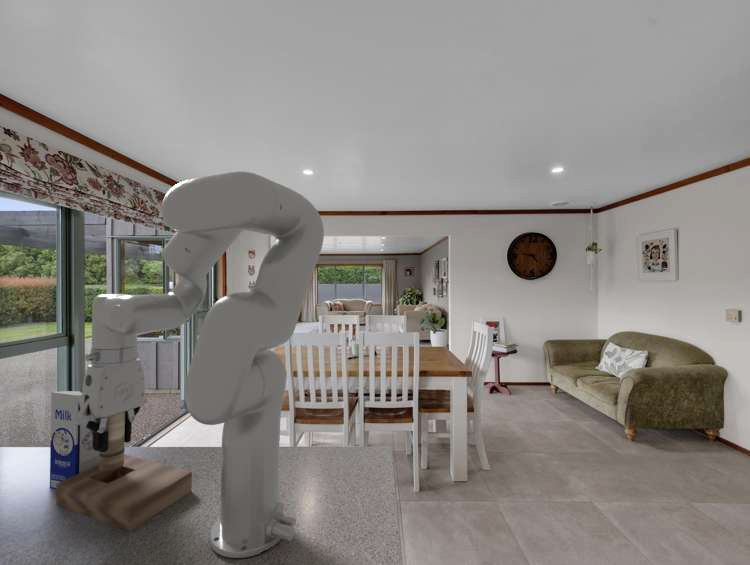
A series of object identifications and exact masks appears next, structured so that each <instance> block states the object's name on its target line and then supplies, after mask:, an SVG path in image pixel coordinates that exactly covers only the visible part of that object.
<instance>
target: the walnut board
mask: <svg viewBox="0 0 750 565" xmlns="http://www.w3.org/2000/svg"><path fill="white" fill-rule="evenodd" d="M192 476H193V472H192V471H189V470H186V469H181V468H178V467H174V466H171V465H166V464H162V463H159V462H155V461H152V460H148V459H144V458H139V457H136V456H132V455H129V454H125V453H124V464H123V466H121V467H120V468H117V469H115V470H110V471H101V470H100V465H98V466H96V467H93V468H91V469H89V470H86V471H84V472H82V473H80V474H77V475H75V476H73V477H71V478H68V479H66V480H64V481H62V482H59V483H57V484H56V489H55V505H56V506H59V507H61V508H64V509H67V510H68V511H69V510H70V511H73V512H75V513H77V514H81V515H83V516H86V517H88V518H91V519H94V520H97V521H99V522H100V521H101V522H102V523H105V524H108V525H111V526H114V527H116V528H119V529H121V530H124V531H128V532H131V531H133V530H135V529H136V528H138V527H140V526H141V525H143V523H144V524H145V522H147V521H149V520H150V519H152V518H153V517H155V516H156V515H157V514H159V513H161V512H162V511H165V509H167V508H168V507H170V506H171V505H173V504H174V503H176V502H177V501H179V500H181V499H182V498H184V497H185V496H186V495H188V494H190V493H192V487H193V486H192V484H193V482H192V479H193V478H192Z"/></svg>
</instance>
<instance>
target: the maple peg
mask: <svg viewBox="0 0 750 565" xmlns="http://www.w3.org/2000/svg"><path fill="white" fill-rule="evenodd" d="M105 431H108V450H107V451H106V452H104V453H103V452H100V470H101V471H110V470H115V469H117V468H120V467H121V466H123V464H124V454H125V449H126V447H125V442H124V437H125V412H122V413H119V414H116V415H113V416H110V417H108V418H107V423H106V427H105Z"/></svg>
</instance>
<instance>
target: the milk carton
mask: <svg viewBox="0 0 750 565" xmlns="http://www.w3.org/2000/svg"><path fill="white" fill-rule="evenodd" d="M82 390H83V386H81V387H80V390H79V391H76V390H75V391H74V390H71V391H70V390H60V391H51V392H50V395H51V396H50V403H51V404H50V448H49V449H50V451H49V456H50V457H49V489H53V490H56V484H57V483H59V482H62V481H64V480H66V479H68V478H71V477H73V476H75V475H77V474H80V473H82V472H84V471H86V470H89V469H91V468H93V467H96V466H98V465H100V452H99V451H96V450H94V449H93V446H92V441H93V431H90V430H89V429H88V428H86V427H84V426H81V425H78V424H74V423H73V421H74V419H75V417H76V416H77V414H78V412H79V411H80V409H81V400H82ZM91 418H92V415H88V417H87V419H88V420H91Z"/></svg>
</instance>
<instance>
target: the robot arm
mask: <svg viewBox="0 0 750 565" xmlns="http://www.w3.org/2000/svg"><path fill="white" fill-rule="evenodd" d="M160 209H161V211H160V213H161V217H162V220H163V222H164V224H165V225H166V226H167V227H169V229H170V230H172V231H174V232H175V233H174V234H173V235H172V237H171V238H170V239H169V241H168V242H167V243H166V244H165V246H164V247H163V248H162V253H161V255H162V259H163V261H164V263H165V264H166V266H167V267H168V268H169V269H170V270H171V271H172V272H173V273H175V274H176V275H177V276H179V277H180V279H179V280H178V282H177V283H176V284H175V285H174V287H173V288H172V289H171V290H170V291H169V292H168V293H151V294H147V293H146V294H127V293H105V294H104V293H102V294H98V295H96V296H95V297H94V298H93V300H92V304H91V305H92V307H91V308H92V311H91V314H92V315H91V348H90V352H89V353H87V354H85V355H84V360H85V362H90V364H88V365H87V367H86V371H85V375H84V378H83V383H82V387H83V390H82V400H81V409H80V411H79V412H78V414H77V416H76V417H75V419H74V421H73V423H74V424H78V425H81V426H84V427H86V428H88V429H89V430H90V431H93V441H92V446H93V449H94V450H96V451H99V452H103V453H104V452H106V451H107V450H108V431H105V427H106V423H107V418H108V417H110V416H113V415H116V414H119V413H122V412H125V437H124V443H130V442H131V438H132V428H133V427H132V424H133V422H134V421H135V420H136V415H137V414H139V412H140V410H141V409H142V408H143V406H145V404H147V403H148V399H147V397H146V389H145V388H146V387H145V386H146V385H145V374H144V373H145V372H144V369H143V364H142V360H141V358H139V357H138V356H137V354H138V335H143V334H148V333H154V332H163V331H169V330H173V329H174V330H175V329H176V328H177V329H178V328H179V327H181V326H183V325H184V324H185V323H186V322H187V321H188V320H190V318H192V316H193V315H194V314H195V313H196V311H198V309H199V308H200V306H201V305H202V304H203V302H204V300H205V297H206V293H207V287H208V281H207V279H208V278H207V275H208V274H209V272H210V271H211V270H212V268H213V267H214V266H215V265H216V263H217V262H218V261H219V260H220V258H221V257H222V256H223V255H224V254H225V253H226V251H227V250H228V249H229V248H230V246H231V245H232V244H233V243H234V241H235V240H236V239H237V238H238V237H239V235H240V234H241V233H242V232H243V230H244V231H249V232H254V233H259V234H263V235H270V236H273V237H274V238H275V241H274V244H273V245H272V247H271V248H270V249H269V250H267V253H266V254H265V256H264V257H263V259H262V262H261V264H260V265H259V266H260V267H259V270H258V273H257V276H256V279H255V282H254V284H253V287H252V289H251V290H250V291H244V292H242V291H241V292H233V293H230V294H227V295H224V296H222V297H221V298H219V299H218V300H216V302H214V304H212V306H211V307H210V308H209V310H208V311H207V313H206V315H205V317H204V318H203V321H202V324H201V328H200V331H199V334H198V338H197V341H196V345H195V349H194V351H193V355H192V358H191V362H190V365H189V368H188V371H187V376H186V379H185V385H184V401H185V405H186V408H187V411H188V413H189V415H190V416H191V417H192V419H193V420H195V421H197V422H198V423H200V424H203V425H205V426H206V425H207V426H209V425H210V426H216V425H222V424H223V427H222V432H221V434H222V435H221V453H220V454H221V455H220V456H221V457H220V460H221V461H220V462H221V463H220V468H221V469H220V502H219V505H220V506H219V509H220V513H219V515H220V516H219V518H218V519H217V520H216V521H215V522H214V524H213V525H212V527H211V528H210V531H209V545H210V547H211V548H212V550H213V551H214V552H215V553H217V554H218V555H220V556H222V557H226V558H229V559H244V558H249V557H250V556H251V557H254V555H255V556H257V554H258V555H260V553H261V552H263V551H265V550H267V551H269V550H270V549H272V548H273V547H275V546H276V545H277V544H278V543H279V542H280V541H281V540H285V541H288V542H291V541H293V540H292V539H293V538H294V536H295V531H296V529H295V525H296V523H297V519H296V518H295V517H293V516H287V515H286V514H285V512H284V508H285V507H284V505H285V504H284V503H283V502H279V483H280V481H279V480H280V479H279V478H280V441H281V440H280V438H281V417H282V416H281V415H282V408H283V402H284V396H285V392H286V384H287V372H286V367H285V364H284V361H283V360H282V358H281V357H280V356H279V355H278V354H277V353H276V352H274V351H272V350H270V349H273V348H277V347H279V346H281V345H284V344H285V343H287V342H288V341H289V340H290V339H291V338H292V337H293V335H294V334H295V333H294V332H295V330H296V326H297V324H298V321H299V318H300V315H301V311H302V308H303V306H304V302H305V299H306V296H307V294H308V291H309V286H310V284H311V281H312V280H311V279H312V277H313V274H314V271H315V268H316V265H317V263H318V260H319V258H320V254H321V252H322V249H323V244H324V237H325V235H324V234H325V229H324V224H323V219H322V217H321V215H320V213H319V212H318V210H317V209H316V207H315V206H314V205H313V203H312V202H311V201H310V200H309V199H307V198H306V197H305V196H303V195H302V194H300V193H299V192H297V191H296V190H294V189H291V188H290V187H287V186H285V185H283V184H281V183H277V182H275V181H273V180H271V179H268V178H267V177H264V176H262V175H260V174H257V173H254V172H253V173H252V172H248V171H234V172H232V171H231V172H225V173H220V174H213V175H209V176H208V175H207V176H202V177H201V176H200V177H195V178H190V179H186V180H184V181H180V182H179V183H177V184H175V185H173V186H172V187H171V188H170V189H169V190H168V191H167V192H166V194H165V195H164V197H163V200H162V202H161V208H160ZM137 357H138V358H137ZM88 415H92V418H91V420H88V419H87V417H88ZM275 544H276V545H275ZM271 547H272V548H271ZM269 548H270V549H269ZM268 549H269V550H268ZM265 552H266V551H265ZM263 553H264V552H263ZM261 554H262V553H261Z"/></svg>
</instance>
